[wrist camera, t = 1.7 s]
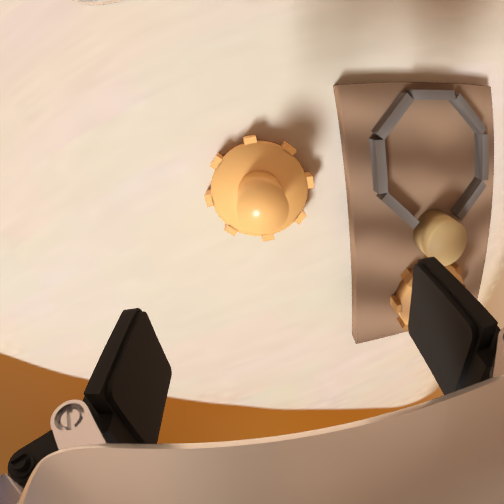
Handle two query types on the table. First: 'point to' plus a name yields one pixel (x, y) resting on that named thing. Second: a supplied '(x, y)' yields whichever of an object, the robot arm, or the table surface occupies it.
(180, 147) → the table surface
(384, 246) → the carrier
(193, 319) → the table surface
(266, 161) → the gear
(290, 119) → the table surface
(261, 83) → the table surface
